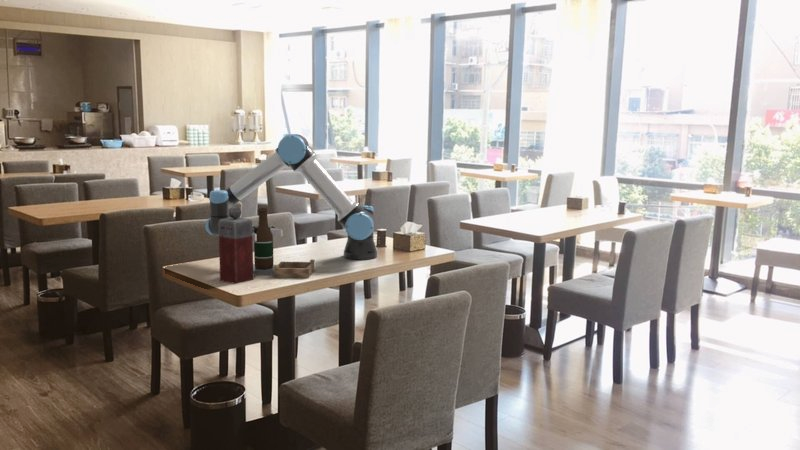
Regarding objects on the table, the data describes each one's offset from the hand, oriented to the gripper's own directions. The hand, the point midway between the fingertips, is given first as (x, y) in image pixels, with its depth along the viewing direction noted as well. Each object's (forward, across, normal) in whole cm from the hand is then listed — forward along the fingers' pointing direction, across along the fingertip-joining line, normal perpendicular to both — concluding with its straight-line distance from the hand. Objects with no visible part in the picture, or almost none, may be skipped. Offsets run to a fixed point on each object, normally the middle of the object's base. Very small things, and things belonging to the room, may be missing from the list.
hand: (269, 235), depth 271 cm
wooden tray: (+10, -4, -15) cm, 18 cm away
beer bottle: (-3, 0, -14) cm, 14 cm away
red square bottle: (-1, +17, -15) cm, 23 cm away
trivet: (-3, 0, -15) cm, 15 cm away
